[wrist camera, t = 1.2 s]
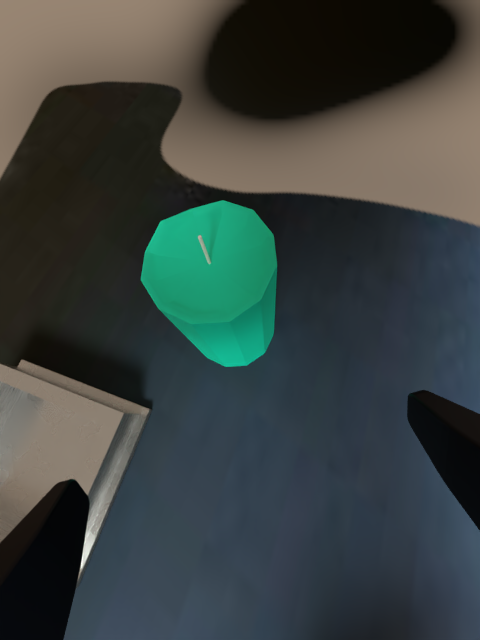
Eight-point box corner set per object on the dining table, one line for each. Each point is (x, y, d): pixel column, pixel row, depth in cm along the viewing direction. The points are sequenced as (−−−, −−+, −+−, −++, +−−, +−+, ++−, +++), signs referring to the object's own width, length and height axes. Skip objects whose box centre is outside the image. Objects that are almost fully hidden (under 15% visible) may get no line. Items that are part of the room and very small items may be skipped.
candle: (280, 297, 23) (290, 181, 12) (266, 374, 22) (263, 324, 10) (205, 285, 24) (148, 167, 13) (186, 359, 22) (101, 297, 11)
